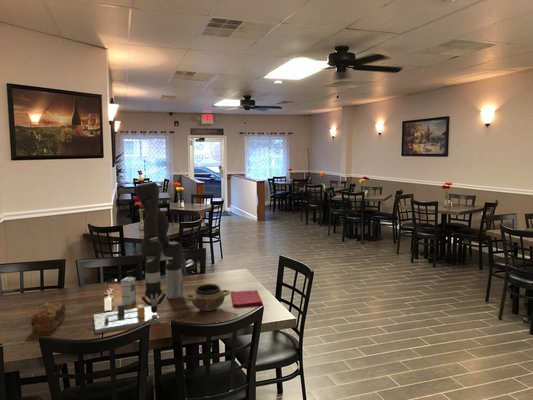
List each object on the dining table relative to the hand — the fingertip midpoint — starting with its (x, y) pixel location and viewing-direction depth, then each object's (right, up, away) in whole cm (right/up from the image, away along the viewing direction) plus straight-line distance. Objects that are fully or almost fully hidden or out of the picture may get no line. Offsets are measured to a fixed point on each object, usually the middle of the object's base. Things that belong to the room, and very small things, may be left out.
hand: (154, 312), depth 212 cm
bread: (-50, -5, -8) cm, 51 cm away
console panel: (-14, -3, -3) cm, 14 cm away
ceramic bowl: (+27, -2, +10) cm, 29 cm away
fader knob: (-6, -1, -3) cm, 7 cm away
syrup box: (-20, -1, +22) cm, 30 cm away
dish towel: (+46, -1, +27) cm, 54 cm away
